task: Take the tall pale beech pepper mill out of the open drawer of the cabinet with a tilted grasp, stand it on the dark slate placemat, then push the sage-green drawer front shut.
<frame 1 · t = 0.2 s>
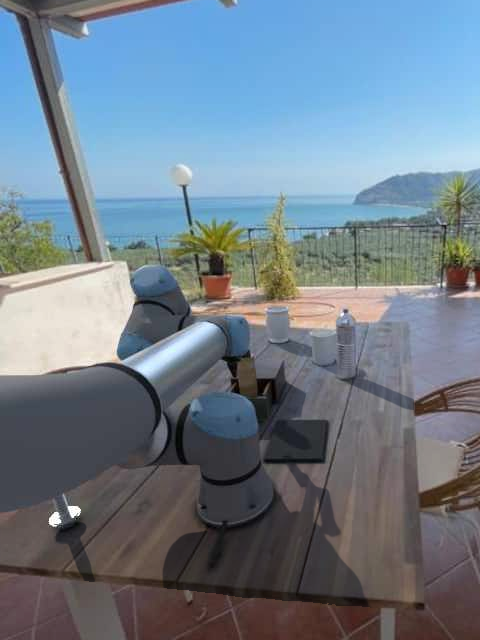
hand: (209, 374, 102), 16 cm above the table, tool tilted 35°, fingers open, 13 cm apart
water bottle: (346, 376, 140), on the table
screw: (68, 525, 75), on the table
jar: (279, 340, 176), on the table
pepper mill: (250, 405, 115), point 2 cm above the table, touching drawer
cabinet: (260, 391, 128), on the table
placemat: (298, 440, 102), on the table
candle holder: (324, 361, 153), on the table
drawer: (249, 400, 113), point 4 cm above the table, slide at 10.0 cm, touching pepper mill
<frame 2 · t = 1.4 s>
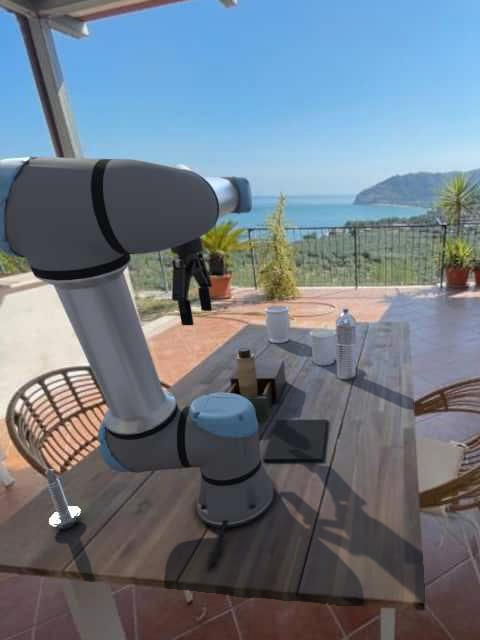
hand: (197, 317, 106), 29 cm above the table, tool pointing down, fingers open, 13 cm apart
nothing on the table moved.
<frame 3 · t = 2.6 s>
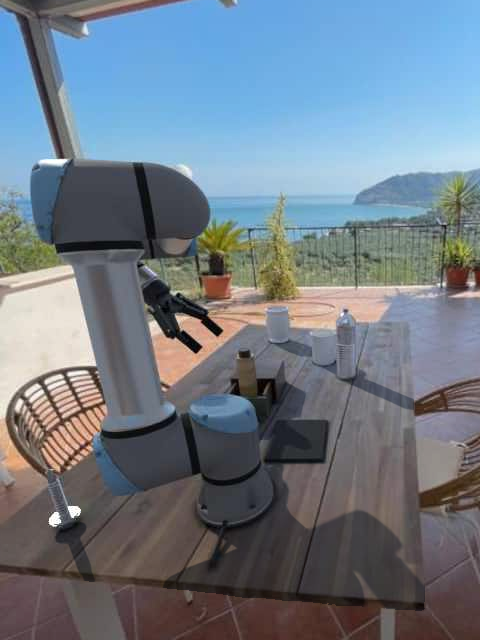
hand: (210, 341, 109), 22 cm above the table, tool tilted 45°, fingers open, 13 cm apart
nothing on the table moved.
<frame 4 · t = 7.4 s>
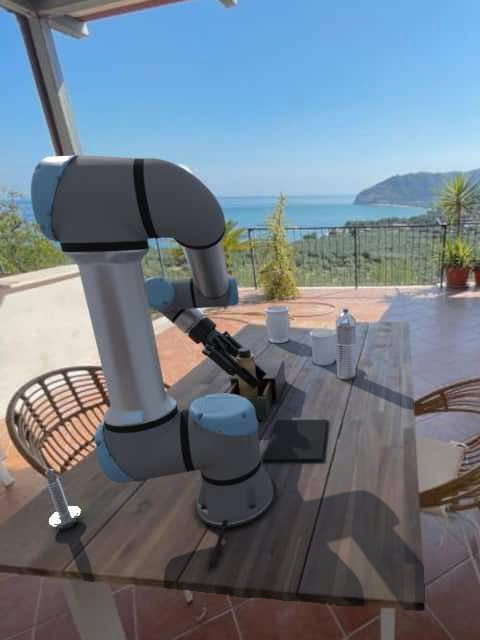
hand: (260, 381, 112), 10 cm above the table, tool tilted 45°, fingers closed on pepper mill, 5 cm apart
pepper mill: (250, 405, 115), point 2 cm above the table, touching drawer, gripper
everything else where it was.
when the fingers open (9 cm above the table, at t = 18.9 s): pepper mill stays where it is, resting on placemat.
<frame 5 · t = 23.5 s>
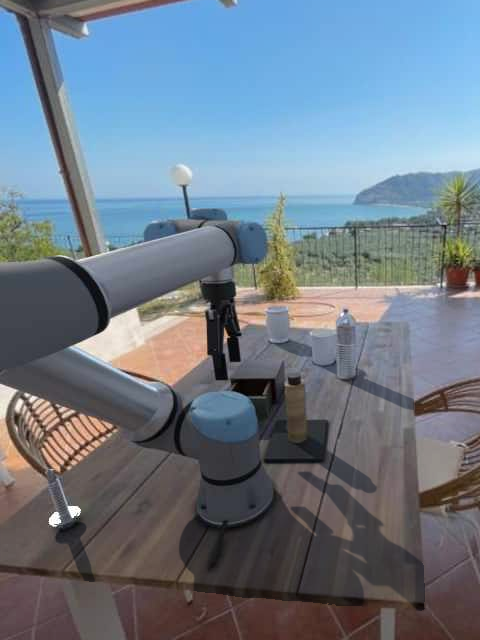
hand: (229, 370, 96), 20 cm above the table, tool pointing down, fingers open, 10 cm apart
pepper mill: (298, 437, 102), point 1 cm above the table, touching placemat
drawer: (249, 400, 113), point 4 cm above the table, slide at 10.0 cm
everything else where it was.
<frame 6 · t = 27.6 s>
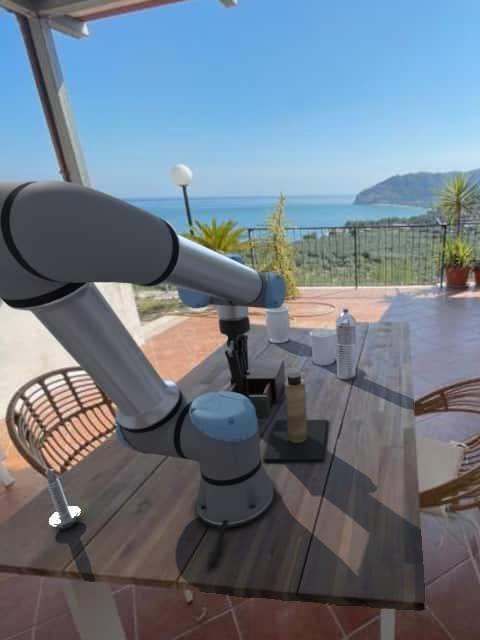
hand: (243, 398, 108), 8 cm above the table, tool pointing down, fingers closed
drawer: (249, 398, 114), point 4 cm above the table, slide at 9.1 cm, touching gripper
everything else where it was.
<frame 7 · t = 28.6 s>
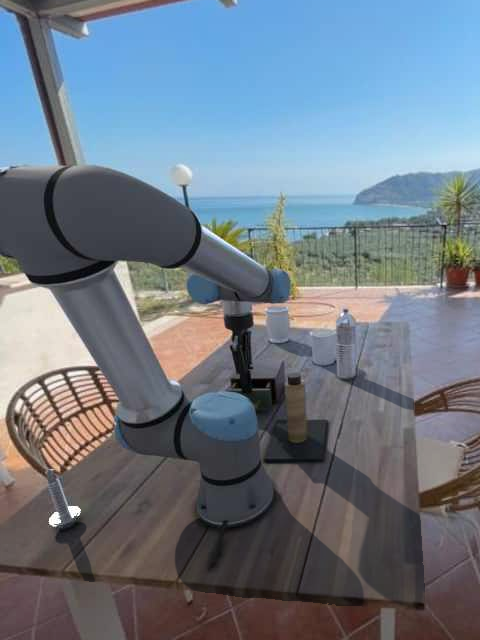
hand: (247, 392, 111), 8 cm above the table, tool pointing down, fingers closed
drawer: (253, 392, 118), point 4 cm above the table, slide at 5.1 cm, touching gripper
everything else where it was.
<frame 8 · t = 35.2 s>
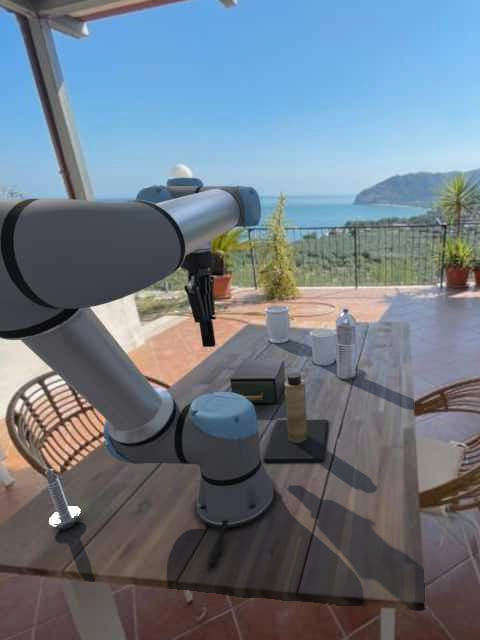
hand: (209, 345, 99), 24 cm above the table, tool pointing down, fingers closed
drawer: (256, 385, 123), point 4 cm above the table, slide at 0.0 cm, touching cabinet
everything else where it was.
at the end: pepper mill inside the target area on the placemat (0.1 cm from its centre), point 0.8 cm above the placemat's base; pepper mill tilted 0°; drawer slide at 0.0 cm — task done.
